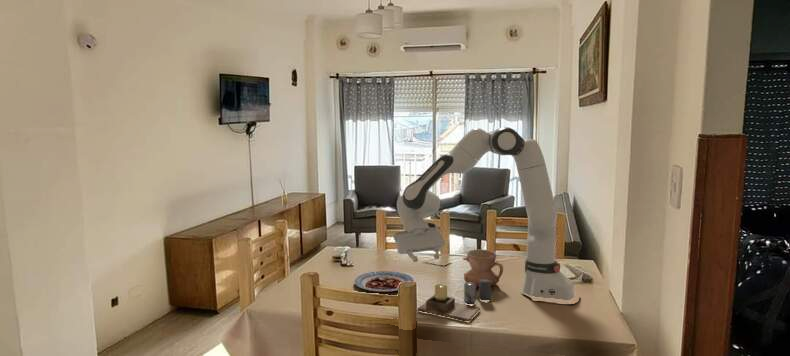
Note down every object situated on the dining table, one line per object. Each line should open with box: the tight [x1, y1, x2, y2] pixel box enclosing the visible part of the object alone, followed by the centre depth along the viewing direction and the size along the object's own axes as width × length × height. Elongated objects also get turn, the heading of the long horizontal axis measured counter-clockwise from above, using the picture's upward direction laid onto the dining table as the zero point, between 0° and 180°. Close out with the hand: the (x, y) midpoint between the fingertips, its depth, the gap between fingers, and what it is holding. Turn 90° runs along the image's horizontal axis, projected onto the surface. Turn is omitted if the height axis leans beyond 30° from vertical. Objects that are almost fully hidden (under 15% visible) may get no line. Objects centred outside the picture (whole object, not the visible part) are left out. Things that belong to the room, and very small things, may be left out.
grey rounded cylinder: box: [478, 279, 492, 300], centre depth 191 cm, size 4×4×8 cm
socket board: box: [417, 294, 481, 322], centre depth 181 cm, size 20×12×4 cm, turn 61°
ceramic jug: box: [462, 249, 504, 288], centre depth 209 cm, size 18×14×14 cm
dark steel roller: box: [463, 281, 477, 304], centre depth 188 cm, size 4×4×8 cm
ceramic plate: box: [354, 270, 415, 293], centre depth 211 cm, size 26×26×3 cm
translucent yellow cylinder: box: [434, 283, 448, 304], centre depth 181 cm, size 4×4×8 cm
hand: (426, 260), depth 190 cm, fingers open, 8 cm apart
